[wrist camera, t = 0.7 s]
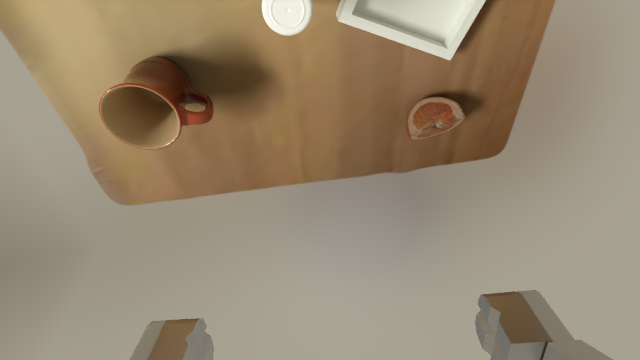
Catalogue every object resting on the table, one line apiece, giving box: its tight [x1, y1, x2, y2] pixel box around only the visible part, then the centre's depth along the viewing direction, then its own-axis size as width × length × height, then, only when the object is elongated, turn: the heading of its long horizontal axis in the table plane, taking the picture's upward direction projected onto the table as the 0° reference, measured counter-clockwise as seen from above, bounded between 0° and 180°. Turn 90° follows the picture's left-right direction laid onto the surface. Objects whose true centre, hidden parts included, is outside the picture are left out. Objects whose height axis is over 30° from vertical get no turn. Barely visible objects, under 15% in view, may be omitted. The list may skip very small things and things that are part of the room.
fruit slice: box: [406, 97, 466, 140], centre depth 53 cm, size 8×7×5 cm
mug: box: [99, 57, 214, 150], centre depth 44 cm, size 12×9×10 cm
